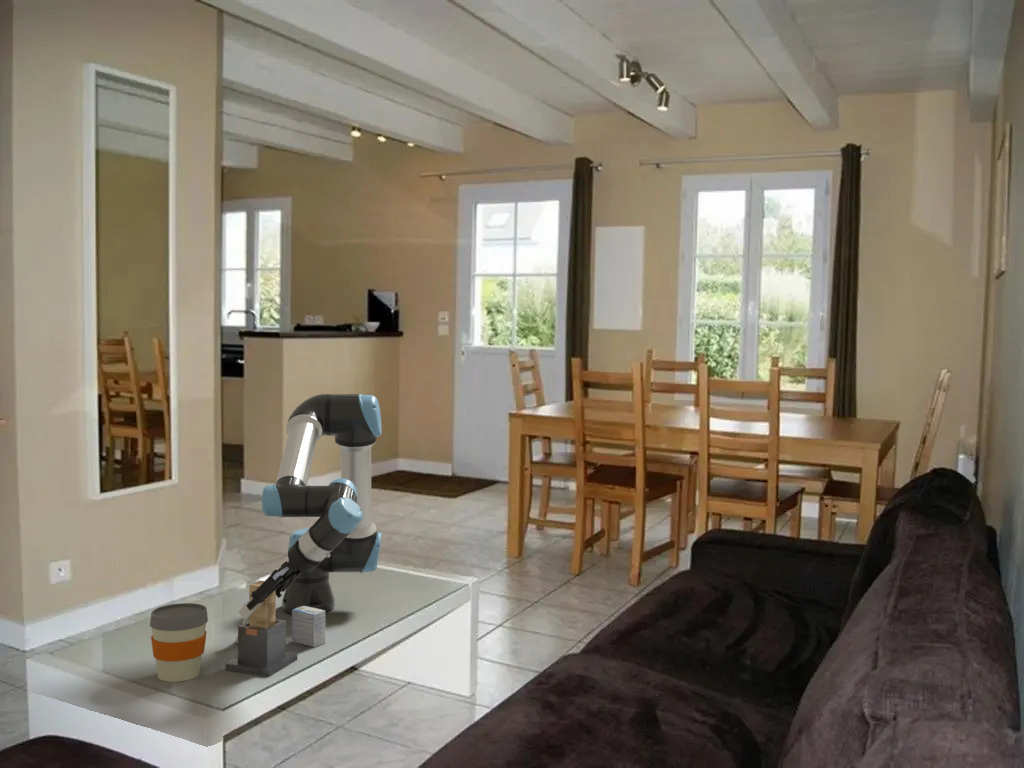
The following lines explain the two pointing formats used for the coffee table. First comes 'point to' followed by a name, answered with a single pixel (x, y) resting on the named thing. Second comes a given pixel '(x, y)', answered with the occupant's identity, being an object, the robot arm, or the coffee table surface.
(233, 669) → the metal stand
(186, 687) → the coffee table surface
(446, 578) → the coffee table surface
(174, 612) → the reusable coffee cup
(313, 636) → the medicine box
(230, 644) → the coffee table surface
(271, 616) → the oak block
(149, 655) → the coffee table surface
